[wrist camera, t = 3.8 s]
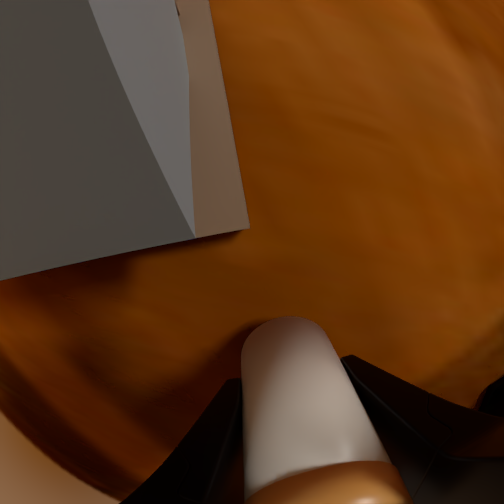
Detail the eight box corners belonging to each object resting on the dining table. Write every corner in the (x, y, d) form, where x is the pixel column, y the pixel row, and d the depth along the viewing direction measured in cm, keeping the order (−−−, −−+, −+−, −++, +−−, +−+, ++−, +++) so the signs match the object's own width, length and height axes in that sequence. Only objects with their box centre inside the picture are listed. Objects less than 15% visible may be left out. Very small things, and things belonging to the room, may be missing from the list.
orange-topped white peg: (332, 380, 10) (396, 534, 4) (248, 396, 10) (258, 565, 4) (328, 305, 10) (434, 476, 3) (230, 324, 10) (223, 528, 3)
